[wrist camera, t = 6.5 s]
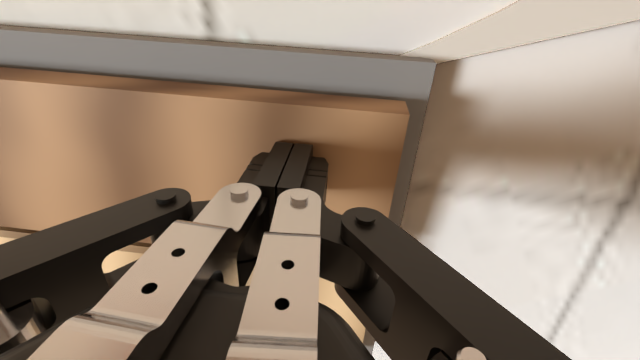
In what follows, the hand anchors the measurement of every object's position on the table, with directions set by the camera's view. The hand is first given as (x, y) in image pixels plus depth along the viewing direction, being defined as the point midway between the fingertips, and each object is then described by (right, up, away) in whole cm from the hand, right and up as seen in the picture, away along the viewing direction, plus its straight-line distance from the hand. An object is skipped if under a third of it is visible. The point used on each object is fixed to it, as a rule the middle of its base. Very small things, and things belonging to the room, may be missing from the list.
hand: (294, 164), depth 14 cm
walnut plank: (-7, 0, +2) cm, 7 cm away
